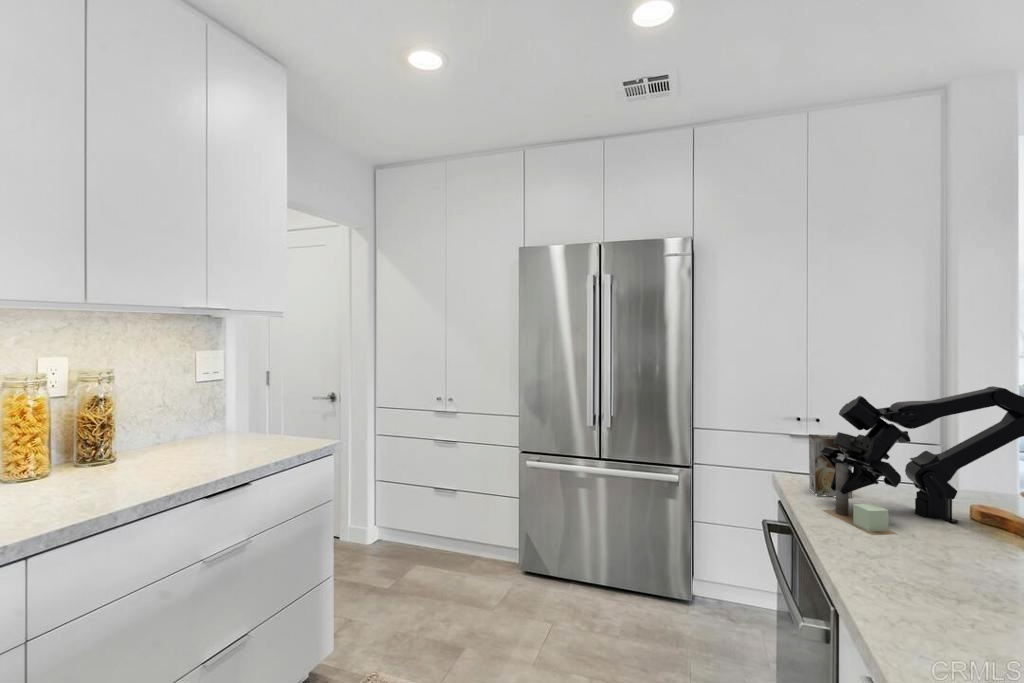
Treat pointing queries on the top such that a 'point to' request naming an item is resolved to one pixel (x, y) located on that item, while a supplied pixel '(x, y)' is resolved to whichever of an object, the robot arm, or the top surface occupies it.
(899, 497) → the top surface
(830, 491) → the coffee box
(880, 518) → the sage cube
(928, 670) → the top surface
